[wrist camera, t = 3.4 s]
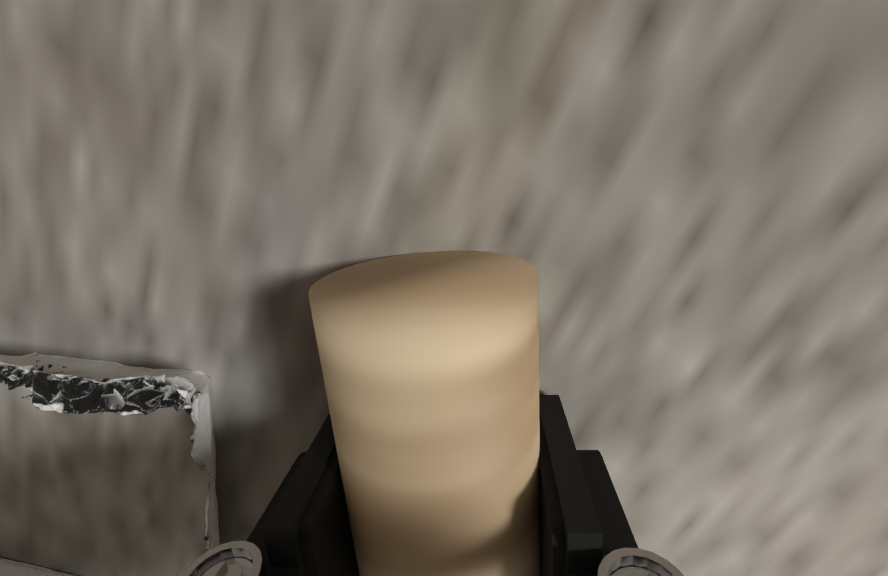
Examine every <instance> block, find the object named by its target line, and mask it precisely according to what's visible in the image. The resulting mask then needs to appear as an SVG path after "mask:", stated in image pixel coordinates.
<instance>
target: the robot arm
mask: <svg viewBox="0 0 888 576" xmlns="http://www.w3.org/2000/svg"><path fill="white" fill-rule="evenodd" d="M539 423H540V453H539V510H540V576H684V575H683V574H682V573H681V572H680V570H678V569H677V568H676V567H675V566H673V565H672V564H671V563H670V562H669V561H667V560H666V559H664V558H662V557H660V556H658V555H657V554H655V553H653V552H650V551H646V550H643V549H639V548H638V546H637V544H636V541H635V539H634V536H633V534H632V531H631V529H630V526H629V524H628V521H627V519H626V516H625V514H624V511H623V509H622V506H621V503H620V501H619V498H618V496H617V493H616V491H615V488H614V486H613V483H612V481H611V478H610V476H609V473H608V471H607V468H606V466H605V463H604V461H603V458H602V456H601V454H600V452H599V451H598V450H576V448H575V445H574V441H573V438H572V435H571V432H570V429H569V426H568V422H567V419H566V416H565V413H564V410H563V407H562V404H561V400H560V397H559V395H539ZM182 576H359V569H358V564H357V558H356V553H355V548H354V542H353V537H352V531H351V526H350V520H349V515H348V509H347V504H346V498H345V493H344V488H343V482H342V477H341V471H340V466H339V460H338V455H337V449H336V444H335V438H334V433H333V428H332V422H331V417H330V413H329V415H328V417H327V418H326V420H325V422H324V423H323V425H322V427H321V429H320V430H319V432H318V434H317V435H316V437H315V439H314V440H313V442H312V444H311V445H310V447H309V449H308V451H307V452H303V453H301V454H300V455H299V456H298V458H297V459H296V461H295V462H294V464H293V466H292V467H291V469H290V471H289V472H288V474H287V476H286V477H285V479H284V480H283V482H282V484H281V485H280V487H279V489H278V490H277V492H276V494H275V495H274V497H273V498H272V500H271V502H270V503H269V505H268V507H267V508H266V510H265V512H264V513H263V515H262V516H261V518H260V520H259V521H258V523H257V525H256V526H255V528H254V530H253V531H252V533H251V534H250V536H249V538H248V539H247V541H232V542H228V543H224V544H221V545H219V546H217V547H215V548H213V549H211V550H209V551H207V552H206V553H204V554H203V555H202V556H200V557H199V558H197V559H196V560H195V561H194V562H193V563H192V564H191V565H190V566H189V567H188V568H187V569H186V570H185V571H184V573H183V574H182Z"/></svg>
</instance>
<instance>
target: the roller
mask: <svg viewBox="0 0 888 576" xmlns="http://www.w3.org/2000/svg"><path fill="white" fill-rule="evenodd" d="M308 297H309V302H310V308H311V313H312V319H313V324H314V329H315V335H316V340H317V346H318V351H319V357H320V362H321V368H322V373H323V379H324V384H325V389H326V395H327V400H328V406H329V411H330V417H331V422H332V428H333V433H334V438H335V444H336V449H337V455H338V460H339V466H340V471H341V477H342V482H343V488H344V493H345V498H346V504H347V509H348V515H349V520H350V526H351V531H352V537H353V542H354V548H355V553H356V558H357V564H358V569H359V575H360V576H540V510H539V453H540V423H539V331H538V272H537V269H536V268H535V267H534V266H533V265H532V264H530V263H529V262H527V261H525V260H523V259H520V258H517V257H513V256H509V255H504V254H498V253H491V252H480V251H442V252H425V253H411V254H404V255H397V256H390V257H385V258H379V259H375V260H370V261H366V262H362V263H358V264H355V265H351V266H348V267H345V268H342V269H340V270H337V271H335V272H332V273H330V274H328V275H326V276H324V277H322V278H321V279H319V280H318V281H316V282H315V283H314V284H313V285H312V286H311V288H310V289H309V292H308Z"/></svg>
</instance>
